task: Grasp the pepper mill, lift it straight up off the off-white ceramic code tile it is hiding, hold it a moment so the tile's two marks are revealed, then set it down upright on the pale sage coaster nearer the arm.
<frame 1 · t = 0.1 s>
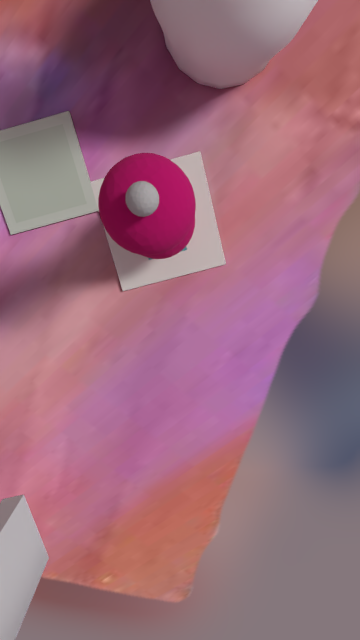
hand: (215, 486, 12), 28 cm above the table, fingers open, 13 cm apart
vase: (222, 21, 33), on the table
pepper mill: (159, 224, 37), resting on code tile
code tile: (159, 224, 37), on the table
coaster b: (39, 175, 35), on the table
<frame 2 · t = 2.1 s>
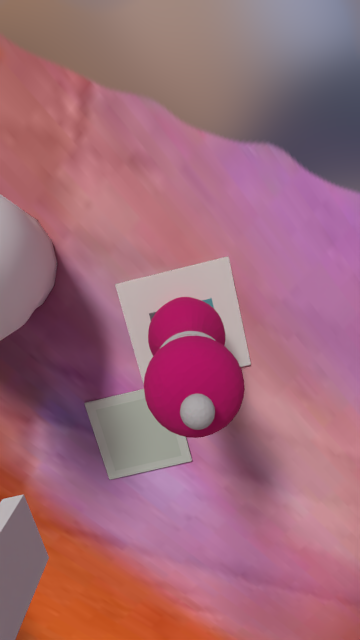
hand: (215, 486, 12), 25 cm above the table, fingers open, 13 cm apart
pepper mill: (184, 325, 36), resting on code tile
code tile: (184, 325, 36), on the table
coaster b: (139, 431, 38), on the table
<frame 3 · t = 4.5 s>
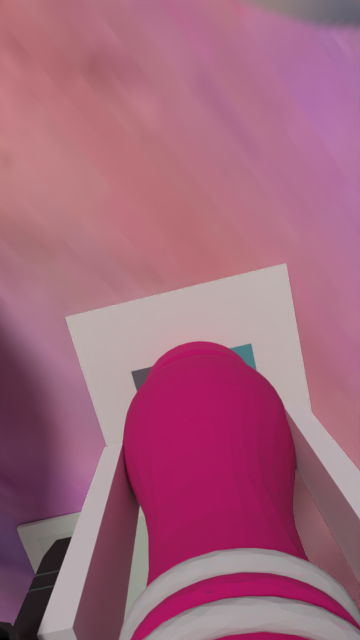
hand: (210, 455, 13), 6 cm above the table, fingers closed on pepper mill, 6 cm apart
pepper mill: (199, 392, 19), resting on code tile, touching gripper
code tile: (199, 391, 19), on the table
coaster b: (117, 572, 22), on the table
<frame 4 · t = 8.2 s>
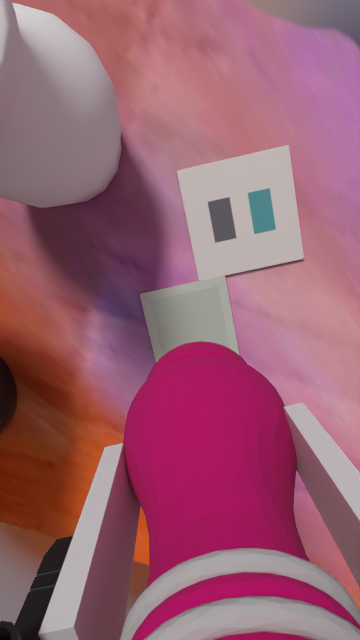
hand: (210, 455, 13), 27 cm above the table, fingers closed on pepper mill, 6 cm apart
vase: (65, 145, 36), on the table
pepper mill: (200, 392, 19), point 21 cm above the table, touching gripper
code tile: (241, 216, 37), on the table
coaster b: (190, 325, 39), on the table
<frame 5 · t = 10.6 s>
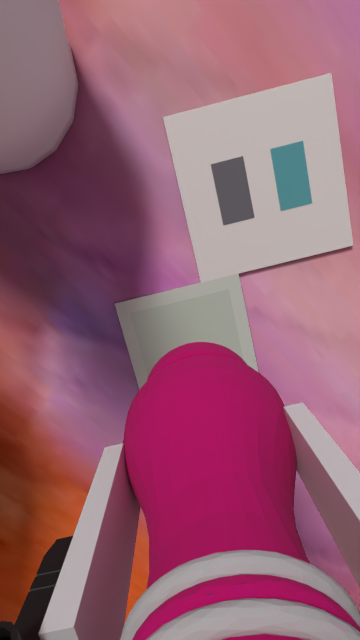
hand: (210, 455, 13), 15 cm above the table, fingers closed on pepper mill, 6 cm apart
pepper mill: (200, 392, 19), point 9 cm above the table, touching gripper
code tile: (261, 184, 25), on the table
coaster b: (190, 347, 27), on the table
when the fingers open (7 cm above the table, at t = 12.4 s): pepper mill drops 1 cm, resting on coaster b.
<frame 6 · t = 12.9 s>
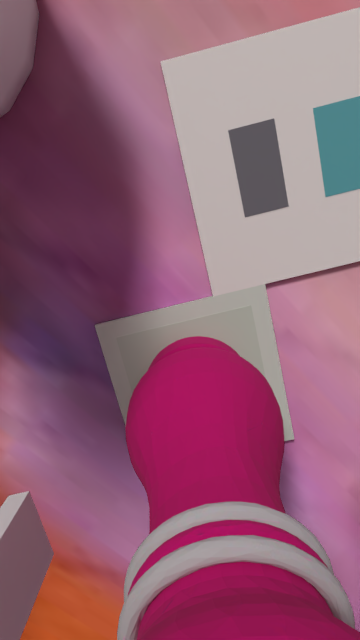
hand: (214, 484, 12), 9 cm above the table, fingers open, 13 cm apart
pepper mill: (197, 384, 20), resting on coaster b
code tile: (298, 159, 18), on the table
coaster b: (198, 383, 20), on the table
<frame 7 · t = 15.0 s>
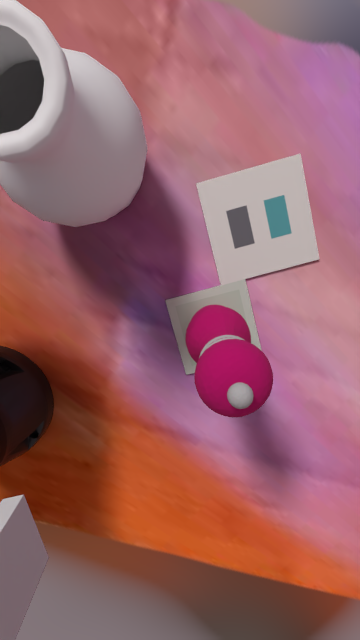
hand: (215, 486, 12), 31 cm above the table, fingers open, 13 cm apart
vase: (91, 166, 38), on the table
pepper mill: (214, 328, 42), resting on coaster b
code tile: (258, 222, 39), on the table
coaster b: (214, 328, 42), on the table
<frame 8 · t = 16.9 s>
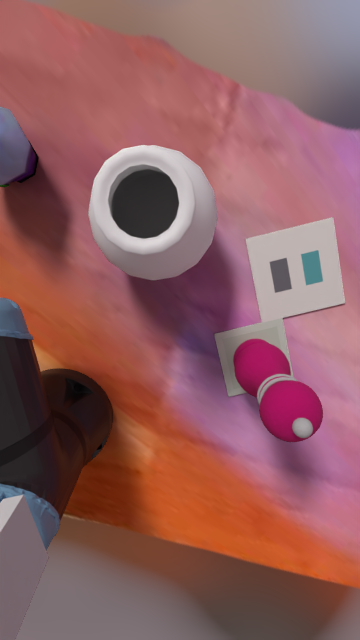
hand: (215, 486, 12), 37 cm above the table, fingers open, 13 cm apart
vase: (157, 221, 45), on the table
potion bottle: (17, 160, 43), on the table
pepper mill: (254, 358, 49), resting on coaster b
code tile: (295, 271, 47), on the table
coaster b: (254, 357, 49), on the table
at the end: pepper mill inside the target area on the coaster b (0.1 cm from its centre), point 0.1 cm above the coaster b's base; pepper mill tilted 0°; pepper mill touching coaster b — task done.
